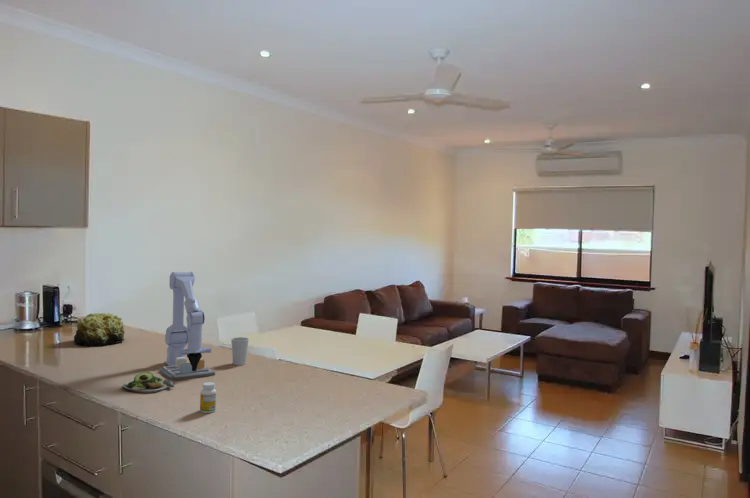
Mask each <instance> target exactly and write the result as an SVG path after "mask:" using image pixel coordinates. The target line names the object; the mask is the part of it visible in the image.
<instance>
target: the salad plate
mask: <svg viewBox="0 0 750 498" xmlns="http://www.w3.org/2000/svg"><path fill="white" fill-rule="evenodd" d="M121 387H122V389H124V391H127V392H130V393H131V392H133V393H141V394H149V393H151V394H153V393H160V392H162V391H165V390H167V389H170V388H174V387H175V385H174V384H173V380H172V381H171V380H170V379H163V378H161V377H158V376H154V374H153V373H152V372H149V371H147V372H145V371H144V372H141V373H138V374H136V375H135V376H134V377H133V381H129V382H126V383H124V384H122V386H121Z"/></svg>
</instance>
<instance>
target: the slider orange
mask: <svg viewBox="0 0 750 498" xmlns="http://www.w3.org/2000/svg"><path fill="white" fill-rule="evenodd" d="M205 364H206V363H205V359H204V358H202V357H201V359H200V361H199V363H198V365H197V369H202V368H204V366H205Z"/></svg>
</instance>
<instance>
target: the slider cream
mask: <svg viewBox="0 0 750 498" xmlns="http://www.w3.org/2000/svg"><path fill="white" fill-rule="evenodd" d="M187 361H188V359H187V357H186V356H185V357H178V358H176V360H175V368H180V365H181V364H184V363H188V362H187Z"/></svg>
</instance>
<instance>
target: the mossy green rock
mask: <svg viewBox="0 0 750 498" xmlns="http://www.w3.org/2000/svg"><path fill="white" fill-rule="evenodd" d="M76 329H77V330H75V335H74V336H73V343H74V344H78V343H80V345H82V346H84V347H86V348H87V347H90V346H92V347H94V346H96V347H97V346H98V347H102V346H104V345H105V346H106V345H108V344H115V345H116V343H119V342H123V341H124V342H125V333H126V332H125V328H124V322H123V321H122V318H121V317H118V315H114V314H113V313H110V312H108V313H105V312H103V313H99V312H98V313H90V314H86V316H85V317H84V318H83V319H80V320H79V322H78V323H77V324H76Z"/></svg>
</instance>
